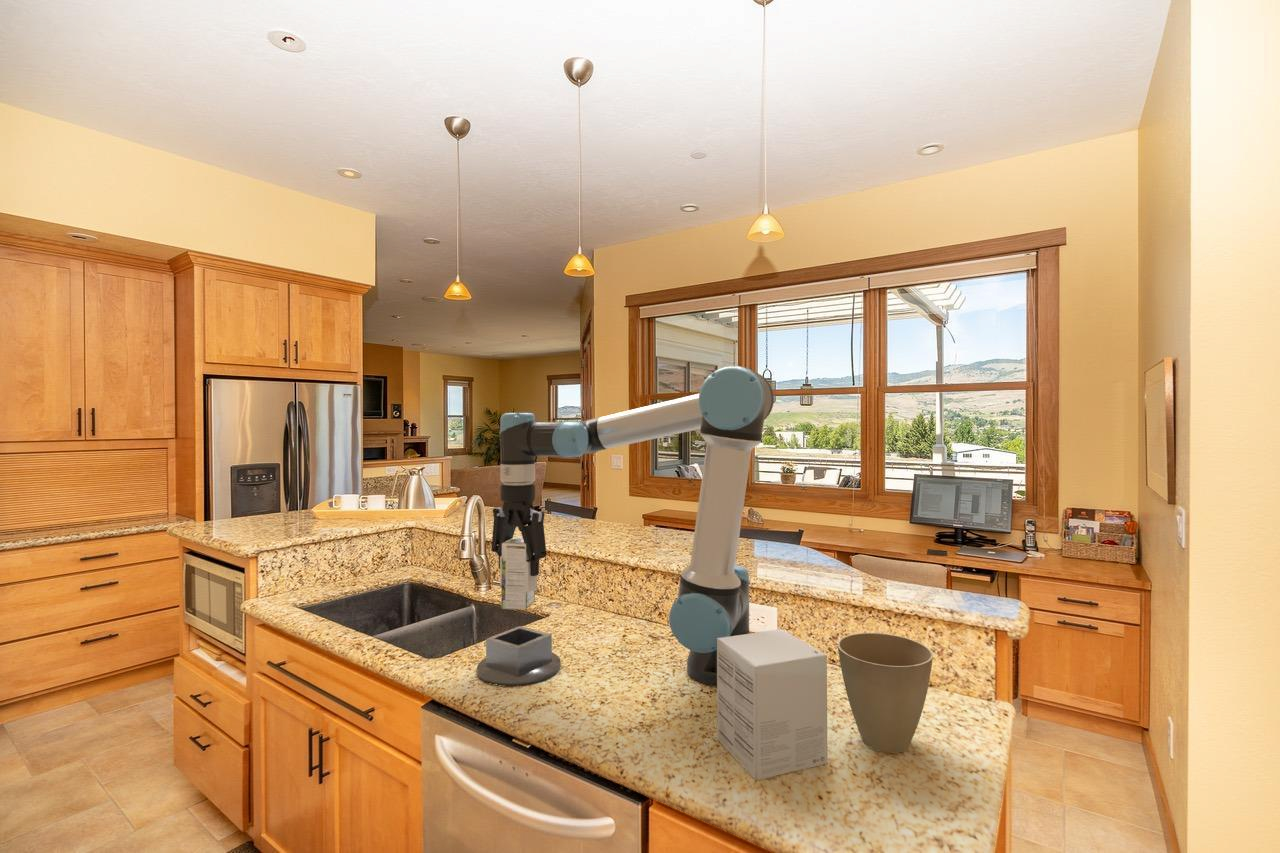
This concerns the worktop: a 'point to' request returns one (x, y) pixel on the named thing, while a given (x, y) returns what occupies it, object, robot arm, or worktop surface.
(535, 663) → the duct collar
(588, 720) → the worktop surface
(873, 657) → the plant pot
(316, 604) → the worktop surface
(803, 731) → the supplement box
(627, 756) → the worktop surface
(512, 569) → the syrup box
